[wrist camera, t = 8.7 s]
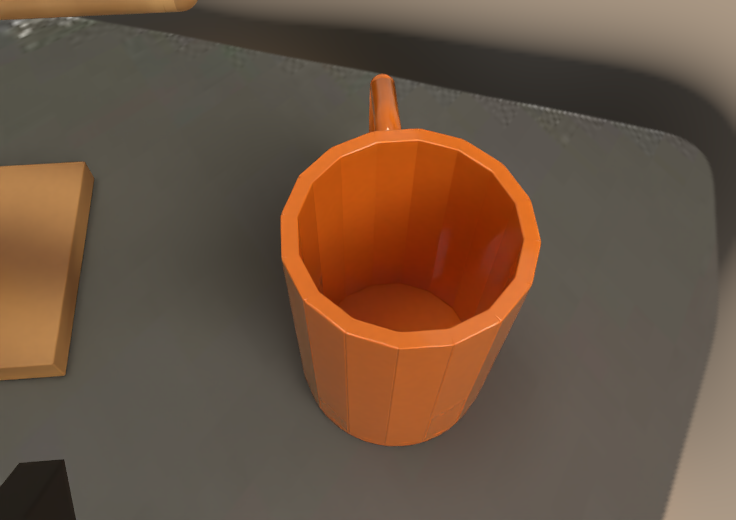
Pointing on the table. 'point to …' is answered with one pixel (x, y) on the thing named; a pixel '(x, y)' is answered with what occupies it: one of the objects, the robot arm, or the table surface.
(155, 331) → the table surface
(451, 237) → the orange mug
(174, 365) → the table surface
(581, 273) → the table surface
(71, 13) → the cup rack
